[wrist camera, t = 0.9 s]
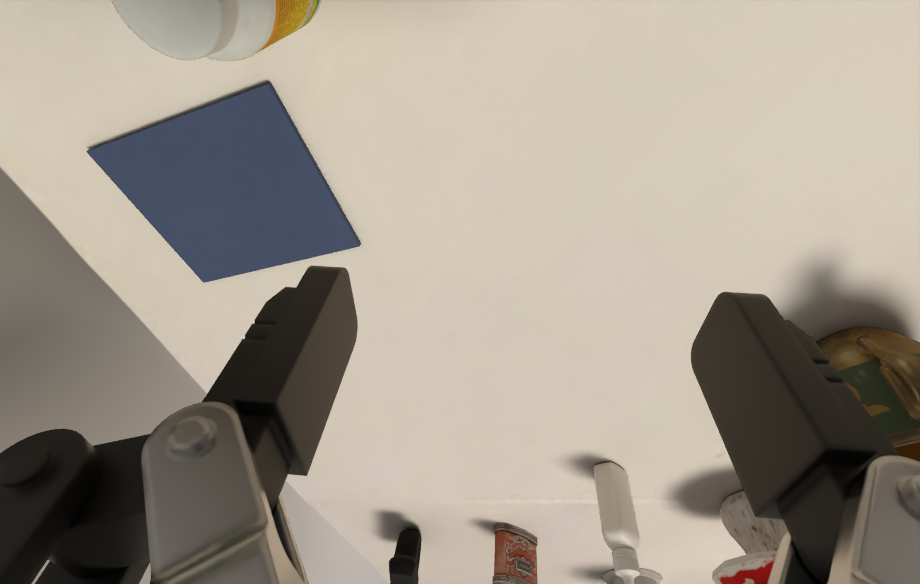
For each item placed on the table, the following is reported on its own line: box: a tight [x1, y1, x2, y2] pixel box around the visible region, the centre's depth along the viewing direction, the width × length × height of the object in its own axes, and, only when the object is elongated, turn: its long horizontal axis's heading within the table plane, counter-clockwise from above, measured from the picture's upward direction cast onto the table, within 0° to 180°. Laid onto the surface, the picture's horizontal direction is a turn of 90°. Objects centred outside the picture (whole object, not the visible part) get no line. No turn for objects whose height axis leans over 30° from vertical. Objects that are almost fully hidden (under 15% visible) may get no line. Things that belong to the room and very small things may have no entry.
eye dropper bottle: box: [594, 462, 640, 584], centre depth 48 cm, size 4×6×12 cm
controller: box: [389, 530, 421, 584], centre depth 66 cm, size 4×12×10 cm, turn 178°
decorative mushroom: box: [712, 491, 788, 584], centre depth 48 cm, size 14×14×15 cm
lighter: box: [493, 523, 537, 584], centre depth 63 cm, size 8×3×10 cm, turn 49°
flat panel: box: [87, 82, 361, 282], centre depth 31 cm, size 12×15×1 cm
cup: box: [817, 327, 920, 462], centre depth 34 cm, size 13×20×10 cm, turn 4°
